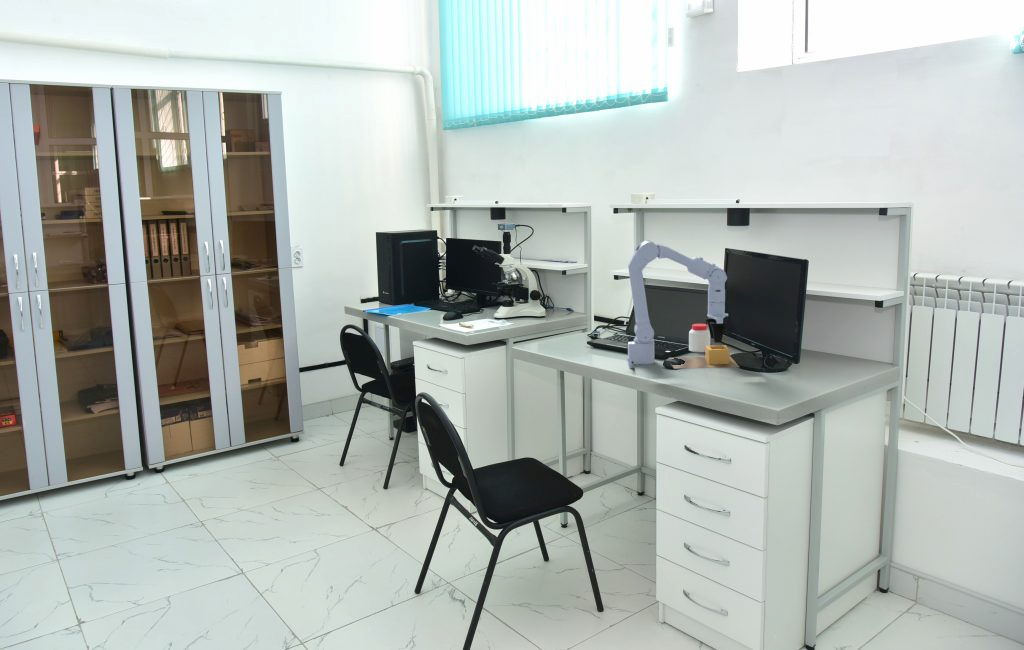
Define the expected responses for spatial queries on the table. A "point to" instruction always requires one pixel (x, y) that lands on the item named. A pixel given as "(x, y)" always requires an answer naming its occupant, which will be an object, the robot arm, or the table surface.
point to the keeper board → (702, 363)
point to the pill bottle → (699, 338)
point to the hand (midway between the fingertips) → (715, 340)
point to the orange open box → (717, 354)
